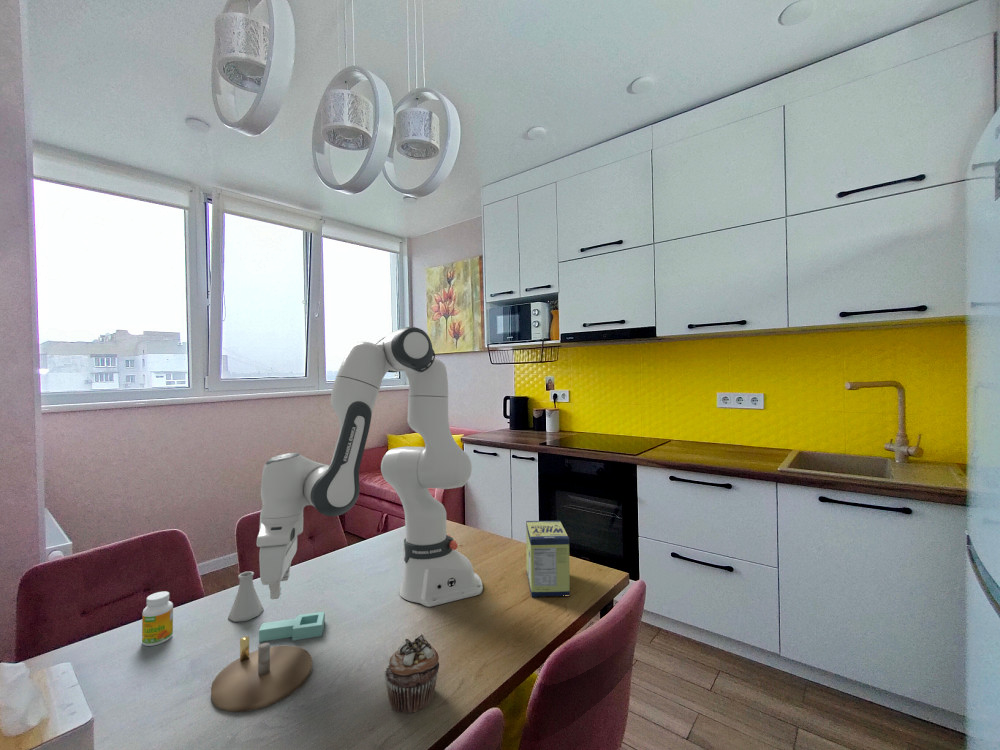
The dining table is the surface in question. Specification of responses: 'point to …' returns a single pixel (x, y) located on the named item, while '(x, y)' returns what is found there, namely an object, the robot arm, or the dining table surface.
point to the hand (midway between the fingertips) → (280, 588)
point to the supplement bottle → (157, 619)
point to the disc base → (261, 678)
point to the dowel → (244, 648)
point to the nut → (294, 627)
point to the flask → (245, 600)
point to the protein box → (547, 558)
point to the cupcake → (412, 675)
